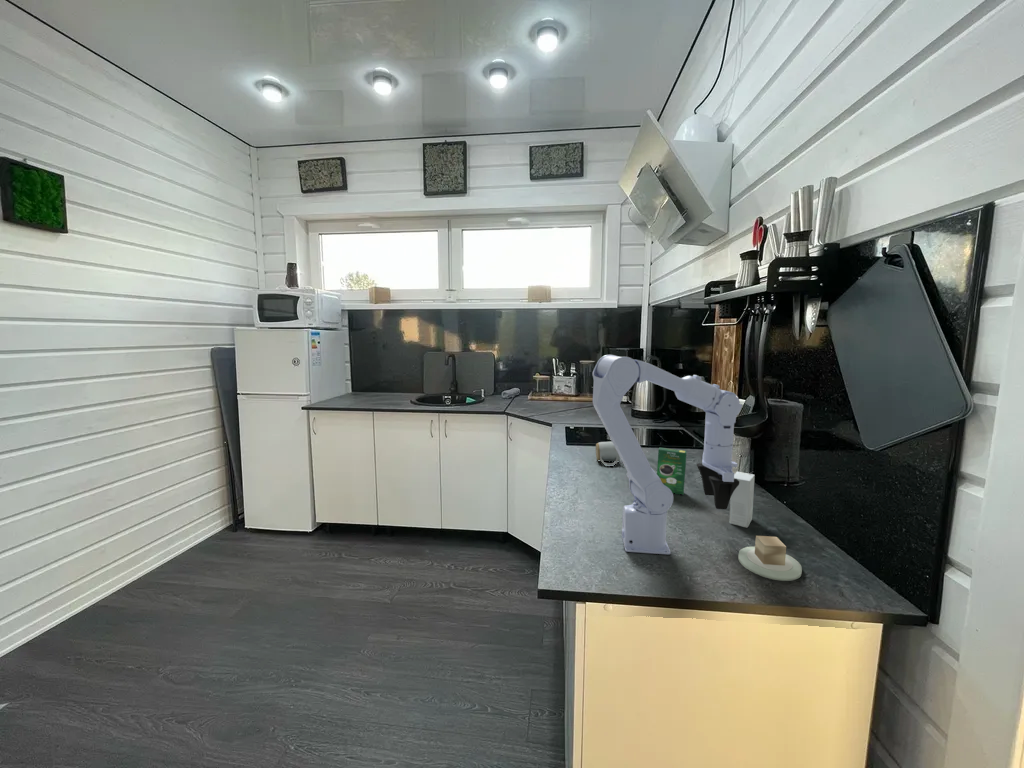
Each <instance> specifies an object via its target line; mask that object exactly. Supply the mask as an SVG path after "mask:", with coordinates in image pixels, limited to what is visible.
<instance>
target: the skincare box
mask: <svg viewBox="0 0 1024 768" xmlns="http://www.w3.org/2000/svg"><path fill="white" fill-rule="evenodd" d="M755 477H756V476H755V474H753V473H748V472H747V473H746V472H743V471H742V472H741V471H736V472H734V479H737V480H738V481H739V485H738V486H737V488H736V489H735V490H734V492H733V494H732V496H731V498H730V501H729V520H728V521H729V522H728V523H729V524H730V525H735V526H739V527H743V528H748V527H749V526H750V523H751V522H752V520H753V513H754V512H753V510H754V509H753V508H754V494H755V493H754V492H755V491H754V490H755Z"/></svg>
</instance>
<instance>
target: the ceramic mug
mask: <svg viewBox="0 0 1024 768" xmlns="http://www.w3.org/2000/svg"><path fill="white" fill-rule="evenodd" d="M595 457H596V460H597V461H598V460H600V461H601V462H602V463H603V464H607V465H614V464H616V465H617V464H618V462H617V461H619V462H620V460H621V458H620V456H619V454H618V452H617V450H616V448H615V446H614V444H613V442H612V441H600V442H597V443H596V444H595ZM600 461H599V462H600ZM604 461H615V462H604ZM601 462H600V463H601ZM602 463H601V464H602ZM603 464H602V465H603Z"/></svg>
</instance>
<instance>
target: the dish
mask: <svg viewBox="0 0 1024 768" xmlns="http://www.w3.org/2000/svg"><path fill="white" fill-rule="evenodd" d="M737 557H738V561H739V563H740V564H741V566H742V567H744V568H745V569H746V570H748V571H750V572H751V573H753V574H754V575H757V576H760V577H763V578H766V579H769V580H773V581H774V580H775V581H781V582H788V581H790V582H791V581H796V580H798V579H799V578H800V577H801V576H802V572H803V568H802V565H801V563H800V562H799V561H797V559H795V558H794V557H792V556H791V555H789V554H787V553H786V558H785V566H784V565H769V564H763V563H762V562H761V561H760V559H759V558H758V557H757V556H756V555H755V545H754V546H746V547H743V548H741V549H739V551H738V556H737Z"/></svg>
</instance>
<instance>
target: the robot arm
mask: <svg viewBox="0 0 1024 768" xmlns="http://www.w3.org/2000/svg"><path fill="white" fill-rule="evenodd" d="M592 379H593V387H592V388H593V389H592V405H593V408H594V410H595V411H596V413H597V416H598V417H599V419H600V422H602V425H603V427H604V429H605V430H606V433H607V435H608V437H609V438H610V440H611V441H612V442H613V444H614V446H615V448H616V450H617V452H618V454H619V456H620V460H621V462H622V463H623V465H624V468H625V470H626V471H627V472H626V473H625V475H626V477H627V478H628V487H629V489H628V490H629V491H630V493H631V494H632V496H633V501H632V504H628V505H627V504H626V505H623V506H622V514H621V515H622V524H621V527H622V528H621V538H622V542H623V543H622V544H623V547H624V551H625V552H627V553H628V552H629V553H639V554H640V553H641V554H655V555H656V554H657V555H658V554H659V555H668V556H669V555H671V554H672V553H671V549H670V547H669V545H668V542H667V541H666V540H667V521H668V520H667V515H668V511H669V510H670V508H671V507H672V505H673V503H674V493H672V491H671V490H670V489H669V488H668V487H667V486H665V485H664V484H663V483H662V481H661V479H660V478H659V476H658V475H657V472H656V471H655V470H654V469H653V468H652V466H651V464H650V462H649V459H648V458H647V456H646V454H645V452H644V450H643V448H642V446H641V445H640V442H639V440H638V438H637V437H636V435H635V433H634V431H633V428H632V426H631V424H630V422H629V420H628V418H627V417H626V415H625V413H624V411H623V409H622V407H621V403H622V400H623V398H624V396H625V395H626V394H627V392H628V391H629V390H631V388H632V387H633V386H634V384H635V383H638V384H641V383H643V382H650V383H652V384H654V385H658V386H660V387H663V388H664V389H667V390H671V391H673V392H674V395H675V397H676V398H677V400H679V401H681V402H683V403H686V404H689V405H691V406H692V407H695V408H698V409H700V410H703V412H705V419H704V424H705V425H704V441H703V453H702V458H701V459H702V461H701V463H696V467H697V469H698V471H699V474H700V477H701V481H702V488H703V493H704V495H705V496H713V500H714V506H715V509H716V510H727V509H728V506H729V505H730V500H731V496H732V494H733V492H734V490H735V489H736V488H737V486H738V485H739V481H738V480H737V479H734V474H735V472H734V471H733V468H737V467H738V463H737V462H736V461H733V447H734V429H735V424H736V423H737V421H736V420H737V416H738V415H739V413H741V410H742V407H743V404H742V403H740V398H739V396H738V395H737V394H736V393H735V392H732V391H729V390H724V389H721V388H720V387H721V386H720V385H719V384H715V383H712V384H711V383H709V382H706V381H704V380H702V376H699V375H697V374H693V375H686V376H683V377H679V376H677V375H675V374H672V373H671V372H669V371H666V370H665V369H663V368H659V367H658V366H656V365H653V364H651V363H649V362H646V361H643V360H640V359H633V358H632V357H629V356H618V355H616V354H605V355H603V356H601V357H600V358H599V359H598V360H597V362H596V364H595V366H594V368H593V371H592Z"/></svg>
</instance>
